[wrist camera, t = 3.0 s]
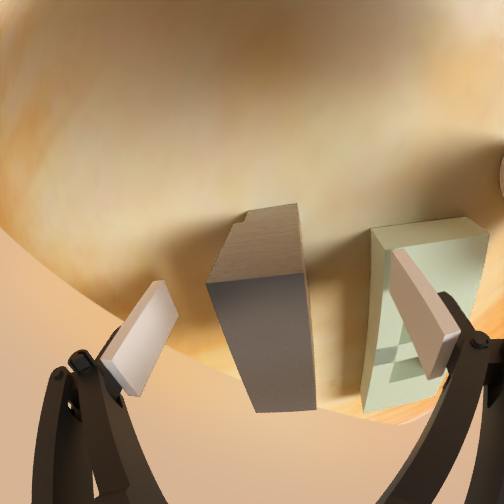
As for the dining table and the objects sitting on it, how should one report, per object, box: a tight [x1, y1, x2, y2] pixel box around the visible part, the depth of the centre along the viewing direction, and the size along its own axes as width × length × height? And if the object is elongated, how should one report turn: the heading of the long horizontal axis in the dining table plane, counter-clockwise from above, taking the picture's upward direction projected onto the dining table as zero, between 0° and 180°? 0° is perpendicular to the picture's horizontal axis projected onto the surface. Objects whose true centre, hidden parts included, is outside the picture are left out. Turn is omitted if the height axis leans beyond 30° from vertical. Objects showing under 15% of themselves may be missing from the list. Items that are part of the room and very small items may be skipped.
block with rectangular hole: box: [360, 216, 490, 413], centre depth 18 cm, size 18×8×3 cm, turn 12°
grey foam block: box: [206, 203, 316, 413], centre depth 14 cm, size 8×3×9 cm, turn 12°
